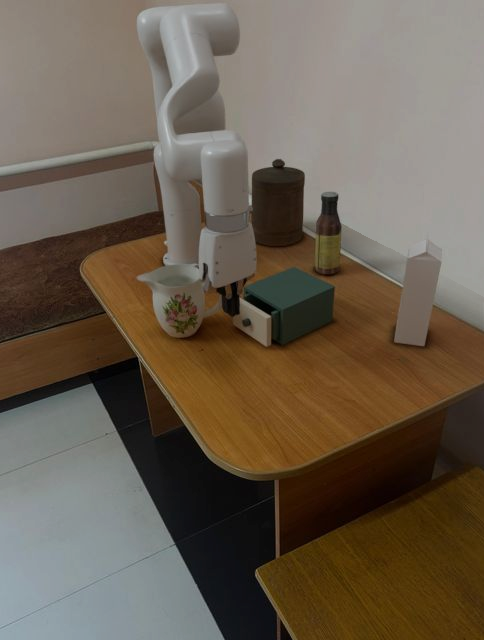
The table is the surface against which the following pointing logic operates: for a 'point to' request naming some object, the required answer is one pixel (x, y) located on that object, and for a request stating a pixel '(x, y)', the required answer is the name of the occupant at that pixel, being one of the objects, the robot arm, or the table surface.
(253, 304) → the drawer
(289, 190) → the wooden container
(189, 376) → the table surface
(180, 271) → the pitcher
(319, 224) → the sauce bottle
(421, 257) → the milk
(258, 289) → the cabinet
